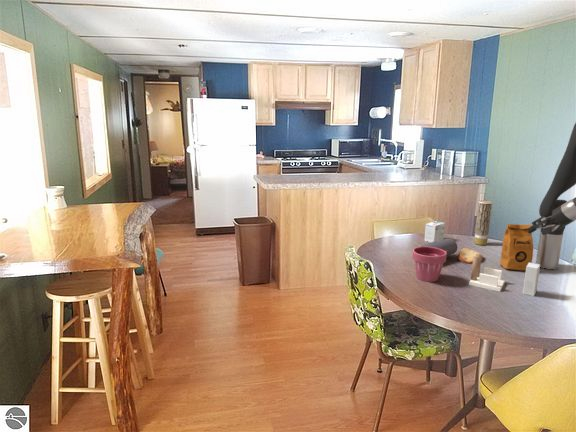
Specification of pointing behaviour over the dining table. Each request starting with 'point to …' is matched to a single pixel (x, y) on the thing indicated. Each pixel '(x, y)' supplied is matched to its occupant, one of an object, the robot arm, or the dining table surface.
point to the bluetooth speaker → (444, 245)
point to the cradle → (485, 276)
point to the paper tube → (483, 222)
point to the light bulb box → (434, 231)
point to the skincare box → (531, 279)
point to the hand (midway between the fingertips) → (535, 232)
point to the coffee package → (517, 247)
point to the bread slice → (467, 255)
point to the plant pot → (428, 262)
